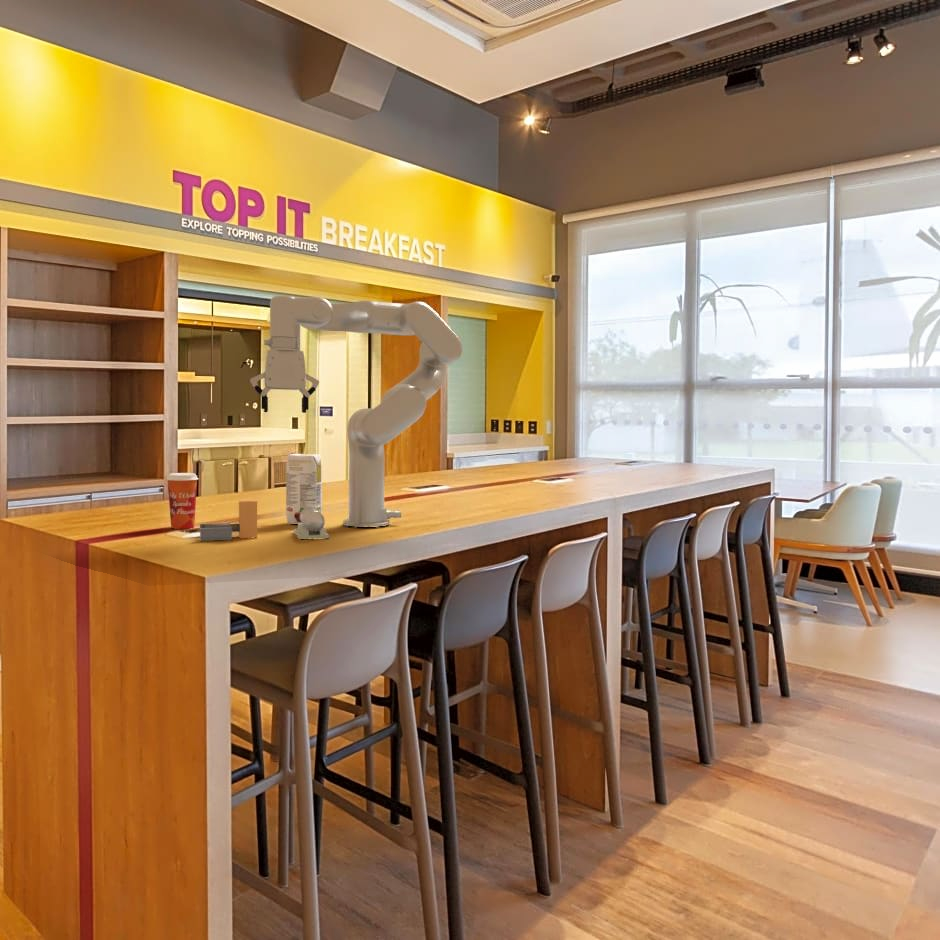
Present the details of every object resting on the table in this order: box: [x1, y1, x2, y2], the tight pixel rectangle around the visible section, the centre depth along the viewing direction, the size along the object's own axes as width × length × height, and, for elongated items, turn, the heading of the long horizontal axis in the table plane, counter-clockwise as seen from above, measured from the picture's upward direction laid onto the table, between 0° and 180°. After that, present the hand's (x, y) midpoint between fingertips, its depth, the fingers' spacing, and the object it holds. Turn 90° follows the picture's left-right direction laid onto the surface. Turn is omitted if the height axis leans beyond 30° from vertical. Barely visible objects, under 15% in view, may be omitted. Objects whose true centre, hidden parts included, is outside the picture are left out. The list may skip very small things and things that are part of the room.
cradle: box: [293, 523, 330, 540], centre depth 195 cm, size 7×11×2 cm, turn 20°
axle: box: [300, 507, 326, 532], centre depth 194 cm, size 9×5×5 cm, turn 20°
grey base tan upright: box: [205, 498, 258, 539], centre depth 190 cm, size 12×4×9 cm, turn 110°
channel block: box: [199, 522, 233, 542], centre depth 189 cm, size 7×8×3 cm
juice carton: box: [285, 453, 323, 525], centre depth 214 cm, size 8×9×19 cm
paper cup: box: [166, 472, 199, 530], centre depth 203 cm, size 8×8×14 cm
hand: (285, 412), depth 203 cm, fingers open, 9 cm apart
